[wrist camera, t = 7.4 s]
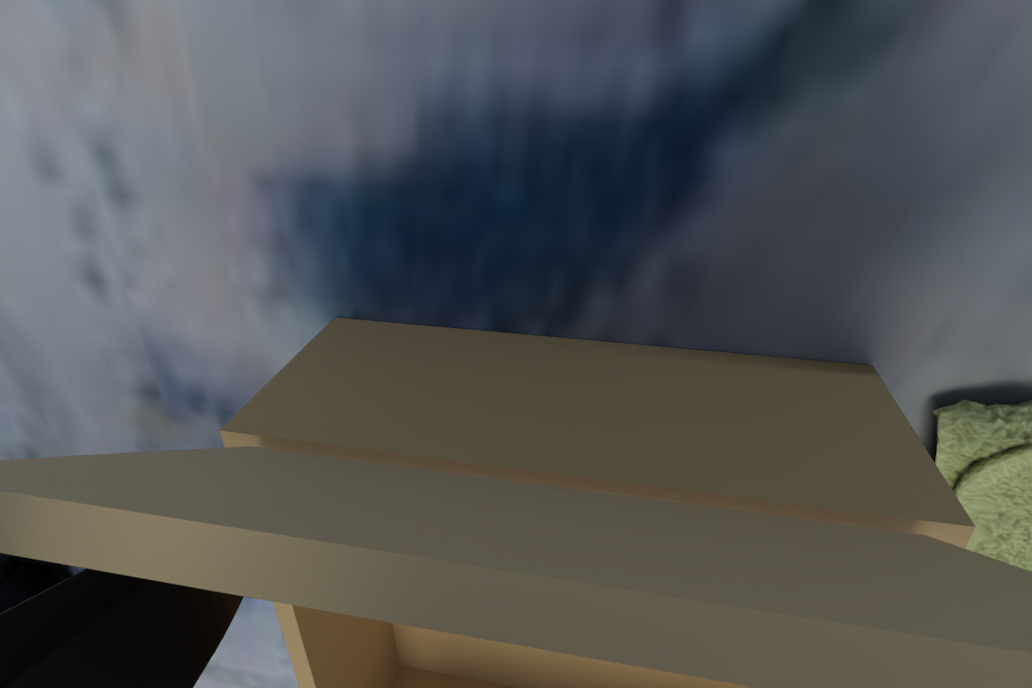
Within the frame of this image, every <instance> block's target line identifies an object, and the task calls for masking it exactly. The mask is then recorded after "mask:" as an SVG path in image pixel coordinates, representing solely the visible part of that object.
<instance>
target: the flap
mask: <svg viewBox="0 0 1032 688" xmlns="http://www.w3.org/2000/svg"><path fill="white" fill-rule="evenodd" d="M0 553H4V554H9V555H15V556H20V557H26V558H32V559H37V560H43V561H48V562H54V563H60V564H65V565H71V566H76V567H82V568H88V569H93V570H99V571H104V572H110V573H116V574H121V575H127V576H132V577H138V578H144V579H149V580H155V581H161V582H166V583H172V584H177V585H183V586H189V587H194V588H200V589H205V590H211V591H217V592H222V593H228V594H233V595H239V596H245V597H250V598H256V599H261V600H267V601H273V602H278V603H284V604H289V605H295V606H301V607H306V608H312V609H317V610H323V611H329V612H334V613H340V614H345V615H351V616H357V617H362V618H368V619H373V620H379V621H385V622H390V623H396V624H401V625H407V626H413V627H418V628H424V629H429V630H435V631H441V632H446V633H452V634H458V635H463V636H469V637H474V638H480V639H486V640H491V641H497V642H502V643H508V644H514V645H519V646H525V647H530V648H536V649H542V650H547V651H553V652H558V653H564V654H570V655H575V656H581V657H586V658H592V659H598V660H603V661H609V662H614V663H620V664H626V665H631V666H637V667H642V668H648V669H654V670H659V671H665V672H670V673H676V674H682V675H687V676H693V677H698V678H704V679H710V680H715V681H721V682H727V683H732V684H738V685H743V686H749V687H755V688H1032V571H1029V570H1026V569H1023V568H1020V567H1017V566H1014V565H1011V564H1008V563H1005V562H1002V561H999V560H997V559H994V558H991V557H988V556H985V555H982V554H979V553H976V552H973V551H970V550H967V549H964V548H962V547H959V546H956V545H953V544H950V543H947V542H944V541H941V540H938V539H935V538H932V537H929V536H927V535H923V534H915V533H908V532H900V531H892V530H885V529H877V528H870V527H862V526H854V525H847V524H839V523H831V522H824V521H816V520H809V519H801V518H793V517H786V516H778V515H771V514H763V513H755V512H748V511H740V510H733V509H725V508H717V507H710V506H702V505H695V504H687V503H679V502H672V501H664V500H657V499H649V498H641V497H634V496H626V495H619V494H611V493H603V492H596V491H588V490H580V489H573V488H565V487H558V486H550V485H542V484H535V483H527V482H520V481H512V480H504V479H497V478H489V477H482V476H474V475H466V474H459V473H451V472H444V471H436V470H428V469H421V468H413V467H406V466H398V465H390V464H383V463H375V462H367V461H360V460H352V459H345V458H337V457H329V456H322V455H314V454H307V453H299V452H291V451H284V450H276V449H269V448H261V447H253V446H244V447H227V448H209V449H191V450H173V451H155V452H137V453H119V454H101V455H83V456H65V457H47V458H29V459H11V460H0Z"/></svg>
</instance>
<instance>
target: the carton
mask: <svg viewBox="0 0 1032 688" xmlns="http://www.w3.org/2000/svg"><path fill="white" fill-rule="evenodd" d="M219 431H220V434H221V437H222V440H223V444H224V447H225V448H227V447H244V446H253V447H261V448H269V449H276V450H284V451H291V452H299V453H307V454H314V455H322V456H329V457H337V458H345V459H352V460H360V461H367V462H375V463H383V464H390V465H398V466H406V467H413V468H421V469H428V470H436V471H444V472H451V473H459V474H466V475H474V476H482V477H489V478H497V479H504V480H512V481H520V482H527V483H535V484H542V485H550V486H558V487H565V488H573V489H580V490H588V491H596V492H603V493H611V494H619V495H626V496H634V497H641V498H649V499H657V500H664V501H672V502H679V503H687V504H695V505H702V506H710V507H717V508H725V509H733V510H740V511H748V512H755V513H763V514H771V515H778V516H786V517H793V518H801V519H809V520H816V521H824V522H831V523H839V524H847V525H854V526H862V527H870V528H877V529H885V530H892V531H900V532H908V533H915V534H923V535H927V536H929V537H932V538H935V539H938V540H941V541H944V542H947V543H950V544H953V545H956V546H959V547H962V548H964V549H965V547H966V545H967V543H968V542H969V540H970V538H971V536H972V534H973V532H974V530H975V528H976V526H975V525H974V523H973V522H972V520H971V519H970V517H969V515H968V514H967V512H966V511H965V509H964V508H963V506H962V505H961V503H960V501H959V500H958V498H957V497H956V495H955V494H954V492H953V490H952V489H951V487H950V486H949V484H948V483H947V481H946V480H945V478H944V476H943V475H942V473H941V472H940V470H939V469H938V467H937V466H936V464H935V462H934V461H933V459H932V458H931V456H930V455H929V453H928V452H927V450H926V448H925V447H924V445H923V444H922V442H921V441H920V439H919V438H918V436H917V434H916V433H915V431H914V430H913V428H912V427H911V425H910V423H909V422H908V420H907V419H906V417H905V416H904V414H903V413H902V411H901V409H900V408H899V406H898V405H897V403H896V402H895V400H894V399H893V397H892V395H891V394H890V392H889V391H888V389H887V388H886V386H885V385H884V383H883V381H882V380H881V378H880V377H879V375H878V374H877V372H876V371H875V369H874V367H873V366H872V365H862V364H851V363H840V362H829V361H817V360H806V359H795V358H784V357H772V356H761V355H750V354H739V353H728V352H716V351H705V350H694V349H683V348H672V347H660V346H649V345H638V344H627V343H616V342H604V341H593V340H582V339H571V338H560V337H548V336H537V335H526V334H515V333H503V332H492V331H481V330H470V329H459V328H447V327H436V326H425V325H414V324H403V323H391V322H380V321H369V320H358V319H347V318H334V319H333V320H332V321H331V322H330V323H329V324H328V325H327V326H326V327H325V328H324V329H323V330H322V331H320V332H319V333H318V334H317V335H316V336H315V337H314V338H313V339H312V340H311V341H310V342H309V343H308V344H307V345H306V346H305V347H304V348H303V349H302V350H301V351H300V352H299V353H298V354H297V355H296V356H295V357H294V358H293V359H292V360H291V361H290V362H289V363H288V364H287V365H286V366H285V367H284V368H283V369H282V370H281V371H280V372H279V373H278V374H277V375H276V376H275V377H274V378H272V379H271V380H270V381H269V382H268V383H267V384H266V385H265V386H264V387H263V388H262V389H261V390H260V391H259V392H258V393H257V394H256V395H255V396H254V397H253V398H252V399H251V400H250V401H249V402H248V403H247V404H246V405H245V406H244V407H243V408H242V409H241V410H240V411H239V412H238V413H237V414H236V415H235V416H234V417H233V418H232V419H231V420H230V421H229V422H228V423H227V424H226V425H224V426H223V427H222V428H221V429H220V430H219ZM273 604H274V608H275V611H276V614H277V617H278V620H279V624H280V627H281V630H282V633H283V636H284V640H285V643H286V646H287V649H288V653H289V656H290V659H291V662H292V665H293V669H294V672H295V675H296V678H297V681H298V685H299V688H755V687H749V686H743V685H738V684H732V683H727V682H721V681H715V680H710V679H704V678H698V677H693V676H687V675H682V674H676V673H670V672H665V671H659V670H654V669H648V668H642V667H637V666H631V665H626V664H620V663H614V662H609V661H603V660H598V659H592V658H586V657H581V656H575V655H570V654H564V653H558V652H553V651H547V650H542V649H536V648H530V647H525V646H519V645H514V644H508V643H502V642H497V641H491V640H486V639H480V638H474V637H469V636H463V635H458V634H452V633H446V632H441V631H435V630H429V629H424V628H418V627H413V626H407V625H401V624H396V623H390V622H385V621H379V620H373V619H368V618H362V617H357V616H351V615H345V614H340V613H334V612H329V611H323V610H317V609H312V608H306V607H301V606H295V605H289V604H284V603H278V602H273Z"/></svg>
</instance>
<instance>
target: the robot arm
mask: <svg viewBox="0 0 1032 688" xmlns="http://www.w3.org/2000/svg"><path fill="white" fill-rule="evenodd" d="M243 597H244V596H239V595H233V594H228V593H222V592H217V591H211V590H205V589H200V588H194V587H189V586H183V585H177V584H172V583H166V582H161V581H155V580H149V579H144V578H138V577H132V576H127V575H121V574H116V573H110V572H104V571H99V570H93V569H88V568H87V569H85V570H83V571H81V572H79V573H77V574H76V575H74V576H72V577H69V575H68V573H67V572H66V570H65V568H64V567H63V565H62V564H60V563H54V562H48V561H43V560H37V559H32V558H26V557H20V556H15V555H9V554H4V553H0V688H193V687H194V685H195V684H196V682H197V680H198V679H199V677H200V675H201V674H202V672H203V670H204V669H205V667H206V666H207V664H208V662H209V661H210V659H211V657H212V656H213V654H214V652H215V651H216V649H217V647H218V646H219V644H220V642H221V640H222V639H223V637H224V635H225V633H226V631H227V629H228V627H229V626H230V624H231V622H232V620H233V618H234V616H235V614H236V611H237V609H238V607H239V605H240V603H241V601H242V599H243Z"/></svg>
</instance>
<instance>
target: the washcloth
mask: <svg viewBox="0 0 1032 688" xmlns="http://www.w3.org/2000/svg"><path fill="white" fill-rule="evenodd" d="M933 414H934V415H936V418H937V449H936V458H935V464H936V466H937V467H938V469H939V470H940V472H941V473H942V475H943V476H944V478H945V480H946V481H947V483H948V484H949V486H950V487H951V489H952V490H953V492H954V494H955V495H956V497H957V498H958V500H959V501H960V503H961V505H962V506H963V508H964V509H965V511H966V512H967V514H968V515H969V517H970V519H971V520H972V522H973V523H974V525H975V526H976V528H975V530H974V532H973V534H972V536H971V538H970V540H969V542H968V543H967V545H966V547H965V549H967V550H970V551H973V552H976V553H979V554H982V555H985V556H988V557H991V558H994V559H997V560H999V561H1002V562H1005V563H1008V564H1011V565H1014V566H1017V567H1020V568H1023V569H1026V570H1029V571H1032V400H1030V401H1026V402H1022V403H1020V404H1017V405H1015V404H1007V405H1005V404H997V403H995V405H990V406H986V405H985V404H978V403H976V402H972V401H969V400H962V401H960V402H958V403H956V404H954V405H950V406H946V407H942V408H939V409H936V410H933Z"/></svg>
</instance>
